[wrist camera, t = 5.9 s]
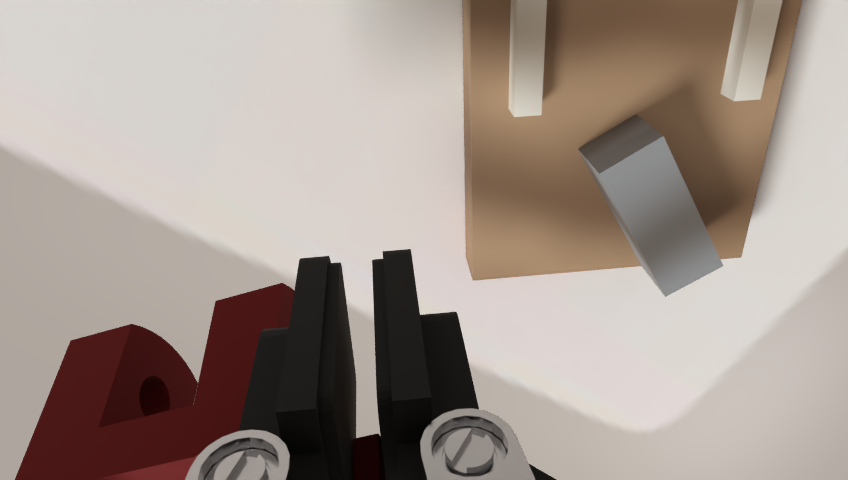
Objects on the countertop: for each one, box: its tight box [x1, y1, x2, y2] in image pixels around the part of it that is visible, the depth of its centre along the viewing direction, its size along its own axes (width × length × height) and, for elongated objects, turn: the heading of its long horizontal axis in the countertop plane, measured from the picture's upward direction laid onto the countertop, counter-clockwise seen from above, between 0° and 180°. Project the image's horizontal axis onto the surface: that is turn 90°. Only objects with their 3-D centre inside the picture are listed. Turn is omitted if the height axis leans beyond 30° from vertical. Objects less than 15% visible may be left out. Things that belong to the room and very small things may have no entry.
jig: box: [462, 0, 802, 297], centre depth 21 cm, size 22×12×4 cm, turn 3°
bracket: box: [15, 283, 386, 480], centre depth 14 cm, size 3×6×10 cm
